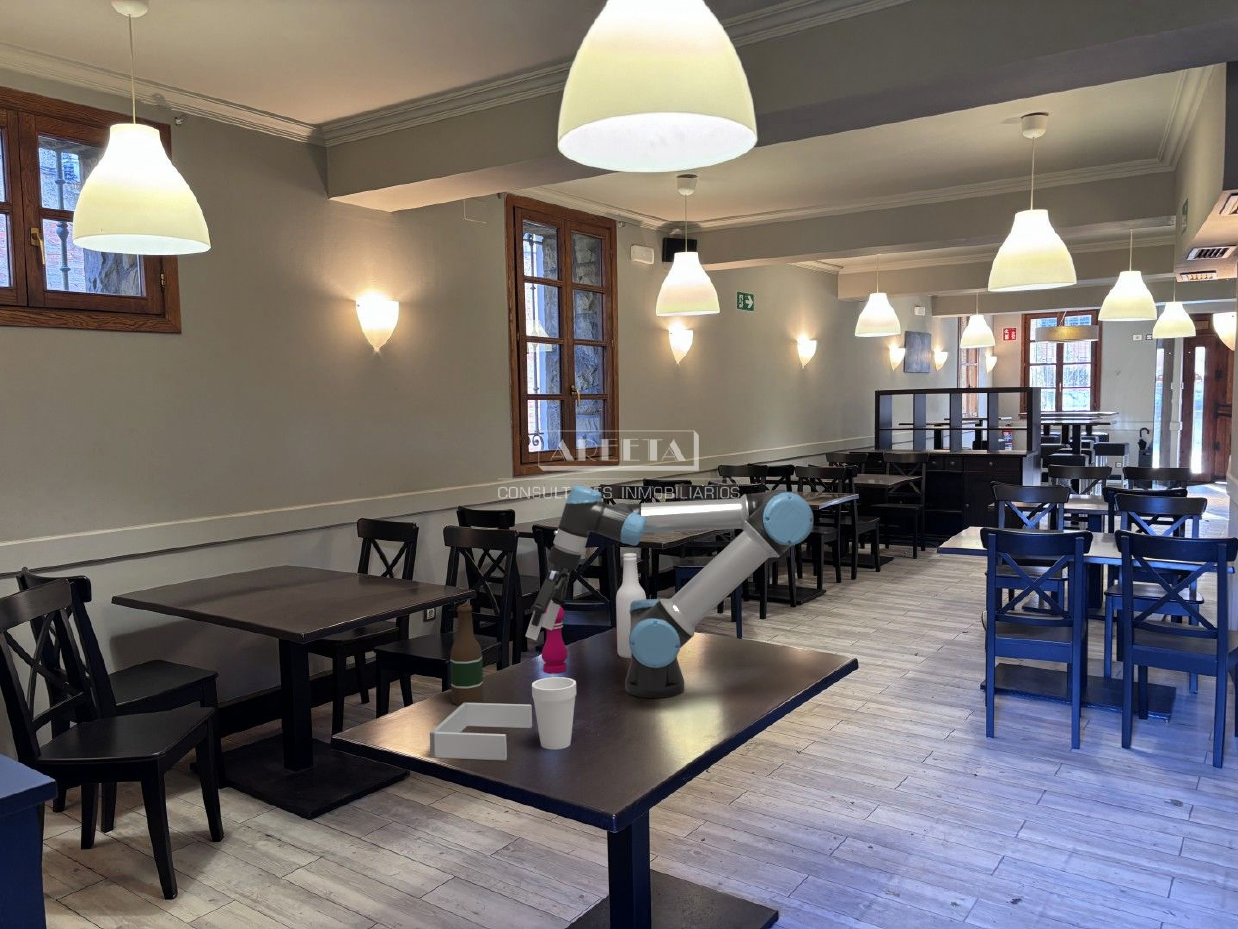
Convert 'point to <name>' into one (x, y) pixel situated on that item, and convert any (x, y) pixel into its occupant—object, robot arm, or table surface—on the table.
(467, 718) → the box
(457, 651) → the beer bottle
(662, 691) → the robot arm
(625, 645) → the alcohol
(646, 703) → the table surface
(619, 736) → the table surface
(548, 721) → the foam cup
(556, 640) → the pepper mill
